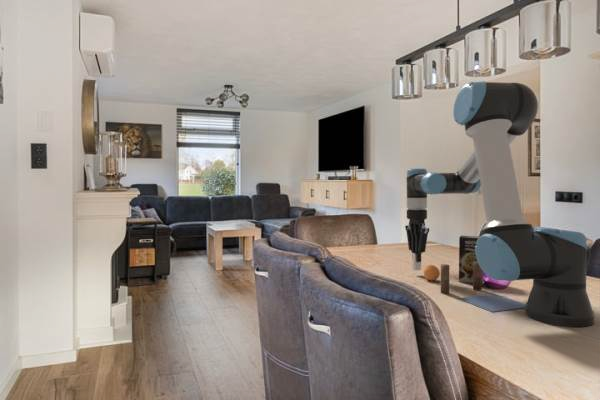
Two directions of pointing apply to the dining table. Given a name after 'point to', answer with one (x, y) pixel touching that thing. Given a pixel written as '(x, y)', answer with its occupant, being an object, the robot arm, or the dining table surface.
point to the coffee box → (467, 258)
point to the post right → (477, 276)
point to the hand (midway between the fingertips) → (416, 269)
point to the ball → (431, 272)
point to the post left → (444, 278)
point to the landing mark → (493, 302)
